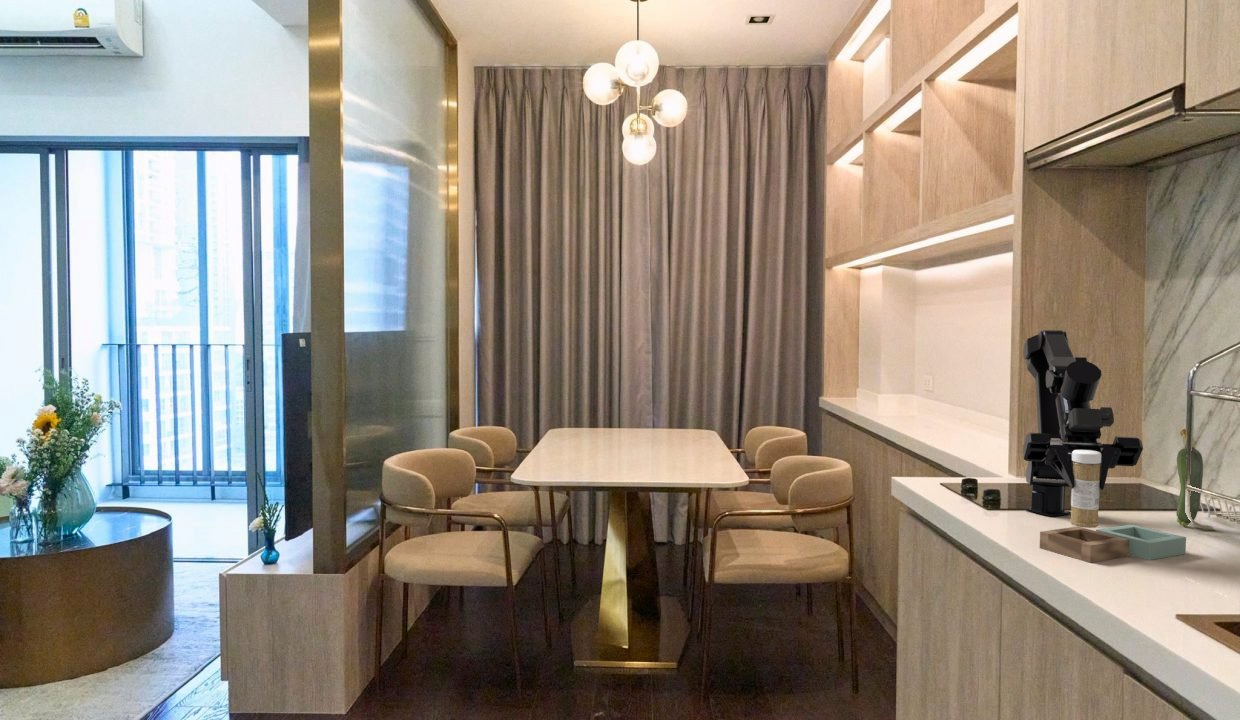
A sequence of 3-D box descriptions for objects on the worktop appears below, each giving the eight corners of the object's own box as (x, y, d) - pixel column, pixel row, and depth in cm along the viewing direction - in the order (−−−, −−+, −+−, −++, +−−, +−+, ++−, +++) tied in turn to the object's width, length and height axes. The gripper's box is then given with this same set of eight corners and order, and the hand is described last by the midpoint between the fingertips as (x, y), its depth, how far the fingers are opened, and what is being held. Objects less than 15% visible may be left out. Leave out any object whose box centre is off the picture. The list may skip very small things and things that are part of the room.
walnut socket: (1077, 542, 157) (1077, 526, 156) (1128, 556, 147) (1129, 539, 147) (1039, 547, 152) (1040, 531, 152) (1090, 562, 143) (1090, 545, 143)
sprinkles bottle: (1079, 521, 153) (1081, 448, 152) (1104, 526, 149) (1106, 451, 148) (1064, 524, 151) (1066, 450, 150) (1088, 529, 147) (1091, 454, 146)
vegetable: (1199, 526, 169) (1203, 428, 168) (1201, 531, 165) (1205, 430, 164) (1173, 523, 171) (1177, 426, 170) (1174, 528, 168) (1178, 429, 167)
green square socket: (1131, 540, 158) (1131, 524, 158) (1185, 553, 149) (1186, 537, 149) (1095, 545, 154) (1096, 529, 154) (1149, 560, 145) (1149, 543, 145)
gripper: (1027, 389, 155) (1036, 458, 145) (1142, 392, 149) (1159, 464, 140) (1019, 426, 163) (1027, 493, 153) (1127, 430, 157) (1143, 500, 148)
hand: (1087, 487), depth 148 cm, fingers closed on sprinkles bottle, 4 cm apart
